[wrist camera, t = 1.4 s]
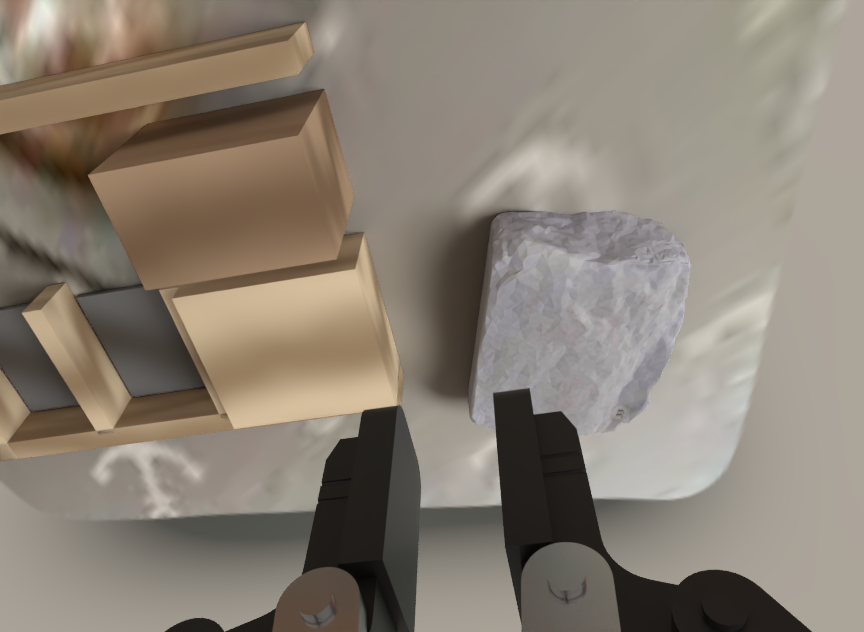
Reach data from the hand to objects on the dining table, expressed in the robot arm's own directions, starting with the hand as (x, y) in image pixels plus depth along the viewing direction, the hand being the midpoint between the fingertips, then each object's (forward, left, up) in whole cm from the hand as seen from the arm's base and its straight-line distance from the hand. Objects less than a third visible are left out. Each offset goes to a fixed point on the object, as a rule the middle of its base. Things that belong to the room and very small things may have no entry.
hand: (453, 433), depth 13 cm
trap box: (+4, -16, -19) cm, 26 cm away
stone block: (+11, +4, -20) cm, 23 cm away
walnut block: (0, -9, -19) cm, 21 cm away
